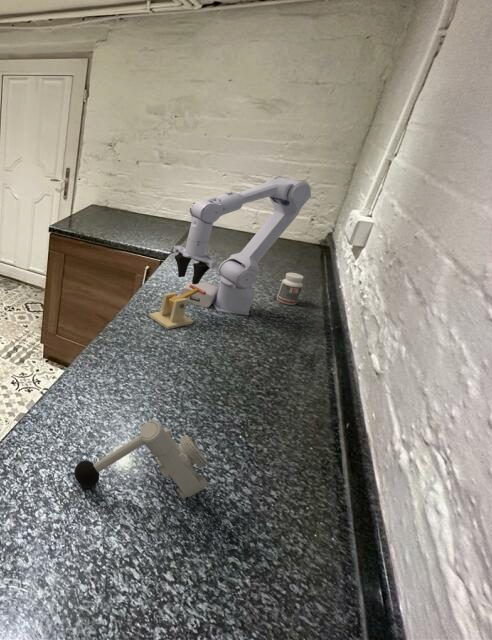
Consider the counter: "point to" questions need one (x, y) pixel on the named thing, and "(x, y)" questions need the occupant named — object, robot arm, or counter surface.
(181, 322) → the bracket
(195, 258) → the robot arm
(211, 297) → the charger
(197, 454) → the valve
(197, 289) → the lever
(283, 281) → the pill bottle
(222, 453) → the counter surface
